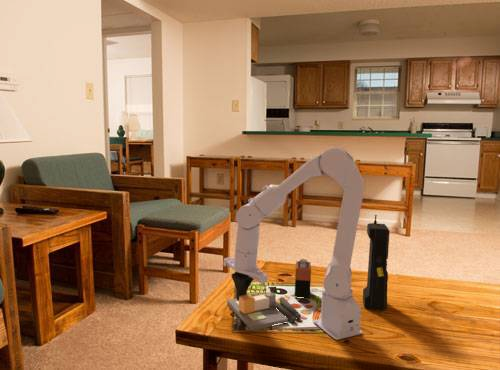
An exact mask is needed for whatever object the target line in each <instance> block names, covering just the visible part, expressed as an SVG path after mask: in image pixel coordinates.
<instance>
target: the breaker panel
mask: <svg viewBox="0 0 500 370" xmlns="http://www.w3.org/2000/svg"><path fill="white" fill-rule="evenodd" d="M259 295H260V294H255V295H251V296H252V297H254V296H259ZM226 304H227V306H228V307H229V308H230V309H231V310H232V311H233V312H234V314H235V315H236V316H237V317H238V318H239V319H240V320H241V321H242V322H243V323H244V324H245V325H246V326H247V328H248V329H249V330H250V331H251V332H253V331H258V330H263V329H267V328H272V327H271V326H272V325H274V324H278V323H284V322H288V323H289V320H288V318H287V317H285V316H284V315H283V314H282V313H281V312H280V311H278V310H277V309H276V308H277V304H275V307H273V308H266V309H262V310H257V311H254V312H251V313H247V314H243V313H242V312H241V311H240V310H239V301H238V300H237V297H236V298H232V299H227V300H226Z"/></svg>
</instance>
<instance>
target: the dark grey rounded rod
mask: <svg viewBox="0 0 500 370" xmlns="http://www.w3.org/2000/svg"><path fill="white" fill-rule="evenodd" d="M279 300H280V301H279V303H280V302H281V303H282V304H283V305H284V306H285V307H286V308H287V309H288V311H289V312H290V313H291V314H292V315H294V316H295V317H296V318H297V319H296V320H300V319H301V318H302V315H301V313H300V312H299V311H298V310H297V309H296V308H295V307H294V306H293V305H292V304H291V303H290V302H288V300H287V299H285V298H284V297H279ZM281 303H280V304H281ZM282 304H281V305H282ZM283 305H282V306H283ZM284 306H283V307H284ZM285 307H284V308H285ZM286 308H285V309H286ZM287 309H286V310H287Z"/></svg>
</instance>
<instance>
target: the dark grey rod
mask: <svg viewBox="0 0 500 370" xmlns="http://www.w3.org/2000/svg"><path fill="white" fill-rule="evenodd" d="M275 304H277V309H278V310H279V311H280V312H281V313H282V314H283V315H284V316H286V317H287V318H288V319H289V320H288V321H289V322H291V321H292V322H294V323H296V322H297V319H296V317H295V316H294V315H292V314H291V313H290V312H289V311H288V310H287V309H286V308H285V307H284V306H283V305H282V304H281V303H280V302H278V301H277V300H276V301H275ZM295 321H296V322H295ZM292 322H291V323H292Z"/></svg>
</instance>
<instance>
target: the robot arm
mask: <svg viewBox="0 0 500 370" xmlns="http://www.w3.org/2000/svg"><path fill="white" fill-rule="evenodd" d="M360 172H361V171H360V169H359V167H358V166H357V164H356V162H355V160H354V158H353V156H352V155H351V154H350V153H349V152H348V151H347V150H346V149H345V148H343V147H341V146H340V147H339V146H334V147H330V148H328V149H326V150H325V151H324V152H323V153H320V154H318V155H317V156H314V157H313V158H312V159H309V160H308V161H306V162H305V163H303V164H302V165H301V166H300V167H298V168H297V169H296V170H295V171H294V172H293V173H292V174H290V175H289V176H288V177H287V178H286V179H284V180H283V181H282V182H280V184H270V185H264V186H263V187H262V188H261V192H260V193H258V194H257V195H256V196H254V197H253V198H252V197H250V198H249V199H248V200H247V202H248V203H246V204H245V205H242V206H240V208H239V209H237V211H236V214H235V220H236V223H237V231H236V239H235V246H234V247H235V248H234V249H235V250H234V257H233V258H232V257H230V256H229V257H225V258H223V259H222V260H223V262H222V265H223V267H228V268H231V269H232V270H234V272H233V273H232V274H231V275H230V276H231V279H232V281H233V283H234V286H235V290H236V298H237V300H238V301H239V296H242V295H247V294H248V290H249V287H250V286H251V284H252V283H253V281H254V280H256V281H258V283H259V284H261V285H262V284H265V283H267V282H268V274H266V273H265V272H263V271H262V270H261V269H260V268H258V264H257V258H258V250H259V249H258V248H259V239H260V225H261V224H260V223H261V222H262V221H263V219H264V218H267V217H268V216H270V215H271V214H272V213H274V212H275V211H276V210H278V209H279V208H280V207H281V206H283V205H284V204H286V199H287V196H288V194H290V193H291V192H292V191H294V190H295V189H296V188H298V187H299V186H301V185H302V184H303V183H305V182H306V181H307V180H309V179H310V178H312V177H322V176H324V174H326V175H327V176H330V177H331V178H332V179H334V180H336V182H337V183H338V185H339V186H340V187H341V188H342V190H343V194H342V200H341V206H340V211H339V218H338V223H337V228H336V229H337V230H336V234H335V241H334V246H333V252H332V256H331V261H330V262H329V264H328V265H327V267H326V269H325V277H324V279H323V288H322V289H321V290H322V291H321V307H320V308H321V309H320V310H321V311H320V318H318V319H314V320H313V323H314V324H315V323H316V324H317V325H318V326H317V325H316V324H315V325H316V326H317V327H318V328H320V329H321V330H322V331H324V332H325V333H326V334H328V335H329V336H330V337H332V338H333V339H334V340H336V341H338V340H341V339H347V338H350V337H353V336H359V335H362V334H363V330H361V318H362V307H361V305H360V304H359V303H358V302H357V301H356V299H355V298H354V296H353V295H354V294H353V289H352V282H351V281H352V275H353V273H352V268H351V264H352V259H353V251H354V248H355V240H356V235H357V230H358V225H359V220H360V219H359V218H360V214H361V209H362V203H363V198H364V192H365V187H366V186H365V181H364V179H363V176H362V174H361V173H360Z"/></svg>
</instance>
